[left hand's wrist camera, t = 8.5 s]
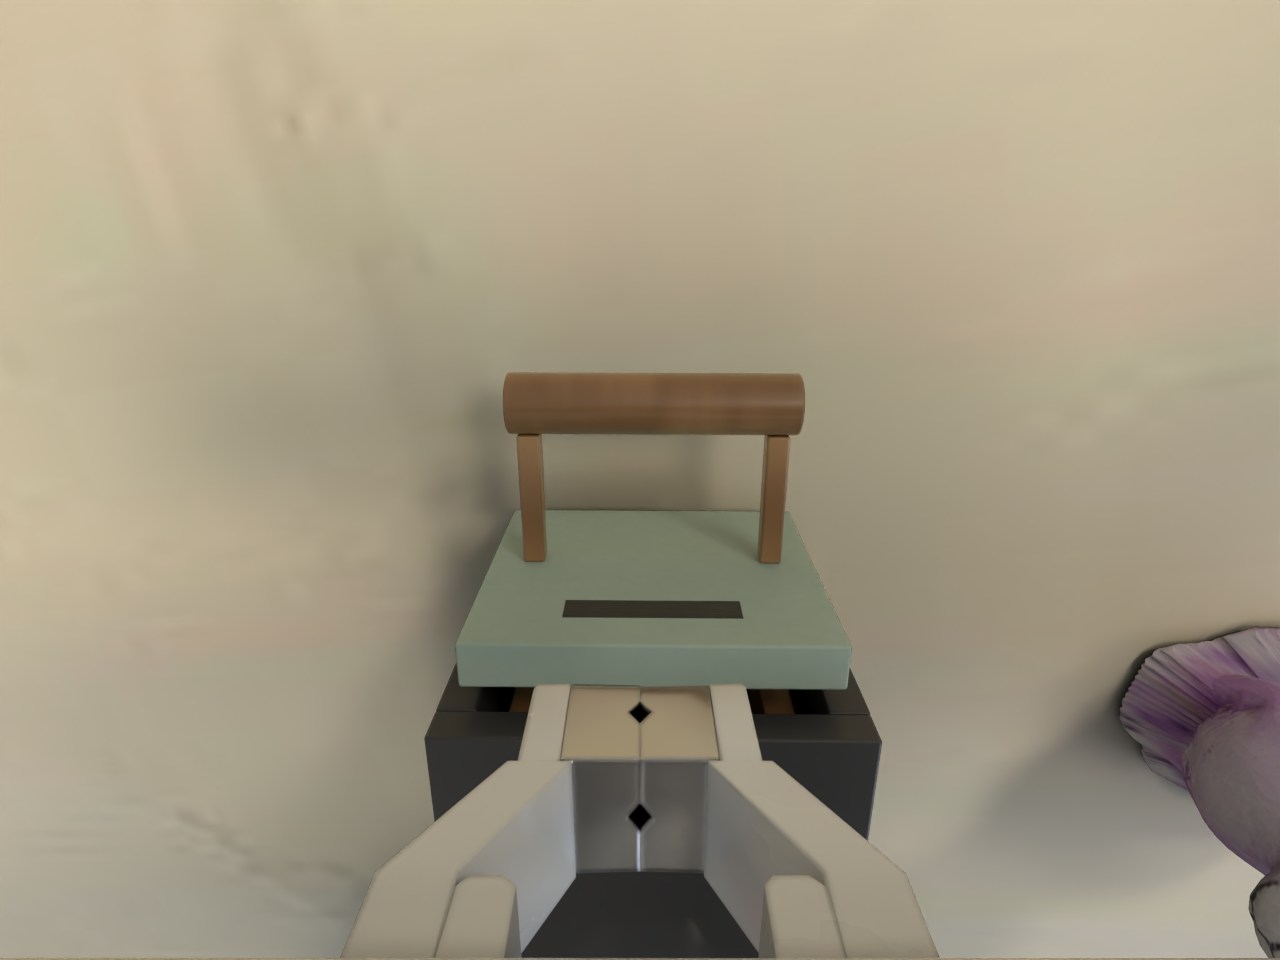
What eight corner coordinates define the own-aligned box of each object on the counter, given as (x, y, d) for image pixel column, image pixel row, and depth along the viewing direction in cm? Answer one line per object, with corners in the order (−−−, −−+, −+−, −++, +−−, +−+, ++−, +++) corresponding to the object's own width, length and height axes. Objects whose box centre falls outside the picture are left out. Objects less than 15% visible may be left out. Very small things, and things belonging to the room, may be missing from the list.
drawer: (504, 348, 22) (430, 418, 15) (802, 349, 22) (880, 420, 15) (539, 916, 30) (504, 1145, 23) (757, 918, 30) (792, 1150, 23)
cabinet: (504, 545, 26) (422, 737, 16) (798, 547, 26) (884, 741, 16) (532, 946, 32) (485, 1244, 23) (763, 949, 32) (810, 1249, 23)
